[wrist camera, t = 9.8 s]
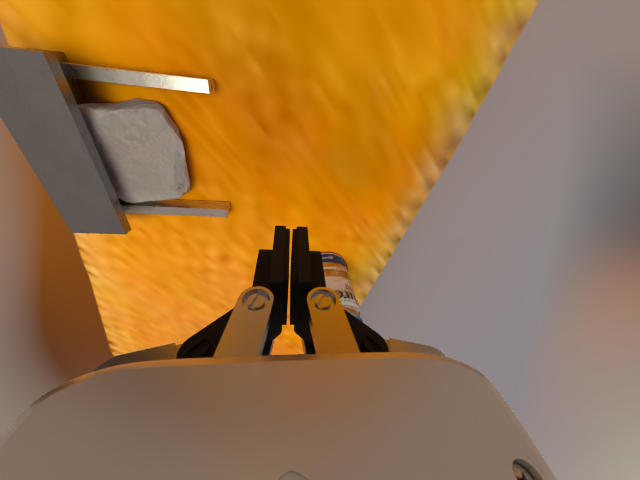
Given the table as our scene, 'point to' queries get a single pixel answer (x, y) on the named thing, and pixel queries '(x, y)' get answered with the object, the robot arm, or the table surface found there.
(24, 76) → the steel lip bracket
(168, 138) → the stone block
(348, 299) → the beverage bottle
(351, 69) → the table surface
